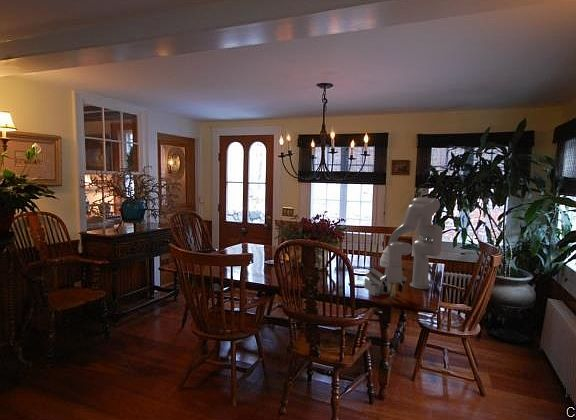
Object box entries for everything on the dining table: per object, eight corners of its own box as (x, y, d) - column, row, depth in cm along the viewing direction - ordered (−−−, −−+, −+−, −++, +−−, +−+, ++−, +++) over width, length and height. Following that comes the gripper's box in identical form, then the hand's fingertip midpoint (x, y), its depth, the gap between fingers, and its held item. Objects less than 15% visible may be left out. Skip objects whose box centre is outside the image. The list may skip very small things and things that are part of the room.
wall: (383, 287, 258) (368, 271, 261) (392, 279, 253) (376, 263, 256) (375, 297, 244) (359, 280, 247) (384, 289, 239) (368, 272, 243)
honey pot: (381, 263, 310) (383, 241, 308) (397, 265, 304) (398, 243, 303) (378, 266, 299) (379, 244, 297) (394, 268, 293) (395, 246, 291)
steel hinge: (383, 286, 245) (384, 277, 245) (396, 294, 229) (397, 285, 229) (360, 287, 242) (360, 278, 241) (371, 296, 226) (372, 286, 225)
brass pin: (393, 296, 226) (394, 280, 224) (396, 298, 222) (397, 282, 221) (388, 296, 225) (389, 280, 224) (391, 298, 222) (392, 282, 221)
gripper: (404, 262, 227) (402, 289, 229) (378, 262, 223) (376, 290, 225) (410, 265, 220) (408, 293, 221) (384, 265, 216) (382, 294, 217)
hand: (392, 291), depth 223 cm, fingers open, 9 cm apart
